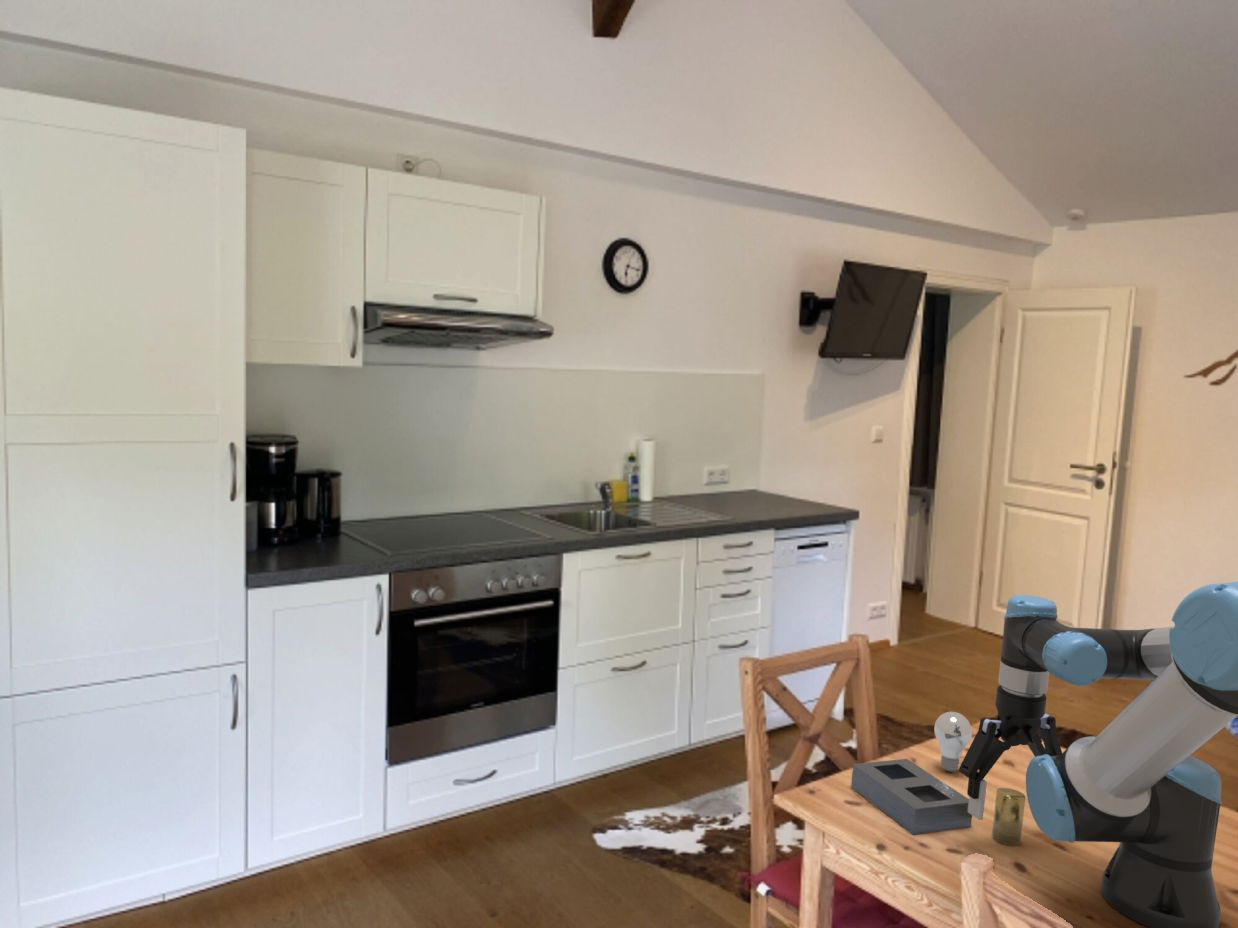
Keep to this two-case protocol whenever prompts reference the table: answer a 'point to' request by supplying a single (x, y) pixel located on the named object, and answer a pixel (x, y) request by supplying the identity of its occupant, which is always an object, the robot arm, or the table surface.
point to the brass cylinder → (1008, 817)
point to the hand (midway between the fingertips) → (1007, 811)
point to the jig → (911, 796)
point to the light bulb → (952, 738)
